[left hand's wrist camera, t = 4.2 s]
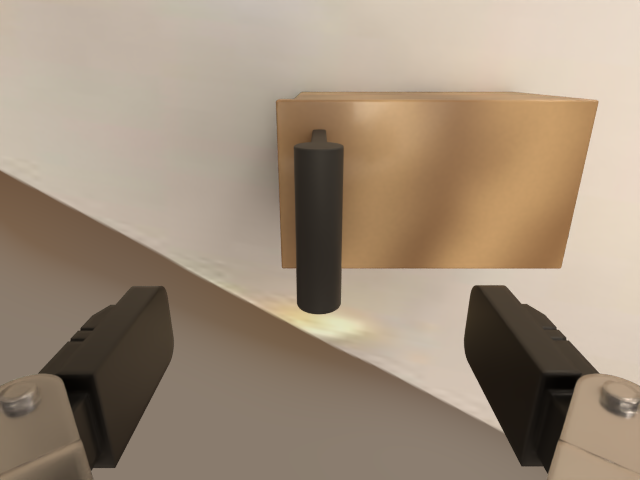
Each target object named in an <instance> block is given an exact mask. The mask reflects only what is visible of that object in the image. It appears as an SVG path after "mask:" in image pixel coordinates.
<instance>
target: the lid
mask: <svg viewBox="0 0 640 480" xmlns="http://www.w3.org/2000/svg"><path fill="white" fill-rule="evenodd" d="M597 106H598V100H591V99H278V100H277V101H276V116H277V144H278V172H279V200H280V228H281V256H282V268H296V276H297V305H298V307H299V308H300V309H301V310H303V311H305V312H307V313H311V314H326V313H330V312H333V311H335V310H337V309H338V308H339V306H340V304H341V268H561V266H562V262H563V257H564V253H565V248H566V244H567V239H568V235H569V230H570V226H571V222H572V217H573V213H574V208H575V204H576V199H577V195H578V190H579V186H580V182H581V177H582V173H583V168H584V164H585V159H586V155H587V151H588V146H589V142H590V137H591V133H592V128H593V124H594V119H595V115H596V111H597Z"/></svg>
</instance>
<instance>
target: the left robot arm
mask: <svg viewBox="0 0 640 480" xmlns="http://www.w3.org/2000/svg"><path fill="white" fill-rule="evenodd" d="M173 347H174V338H173V331H172V324H171V317H170V310H169V303H168V297H167V292H166V290H165V288H164V287H163V286H133V287H131V288H130V289H129V290H128V291H127V293H126V294H125V295H124V296H123V297H122V298H121V299H120V300H119V302H118V303H117V304H116V305H110V306H108V307H106V308H105V309H103V310H101V311H100V312H98V313H96V314H94V315H93V316H92V317H91V318H90V319H89V320H88V321H87V322H86V323H85V324H84V325H83V326H82V327H81V330H80V331H77V333H76V334H75V335H74V336H73V337H72V338H71V341H70V342H67V343H66V344H65V345H64V346H63V347H62V349H61V350H60V351H59V352H58V353H57V354H56V355H55V356H54V357H53V358H52V359H51V360H50V361H49V362H48V363H47V364H46V366H45V367H44V368H43V369H42V370H41V371H40V372H39V373H38V374H33V375H28V376H24V377H20V378H17V379H15V380H12V381H9V382H7V383H5V384H3V385H1V386H0V480H93V476H92V473H91V470H92V469H93V468H115V467H116V465H117V463H118V461H119V459H120V457H121V456H122V454H123V452H124V450H125V448H126V446H127V444H128V442H129V440H130V438H131V436H132V434H133V432H134V431H135V429H136V427H137V425H138V423H139V421H140V419H141V417H142V415H143V413H144V411H145V409H146V407H147V406H148V404H149V402H150V400H151V398H152V396H153V394H154V392H155V390H156V388H157V386H158V384H159V382H160V380H161V379H162V377H163V375H164V373H165V371H166V369H167V367H168V365H169V363H170V361H171V358H172V354H173ZM464 348H465V354H466V358H467V361H468V363H469V365H470V367H471V369H472V371H473V373H474V375H475V377H476V378H477V380H478V382H479V384H480V386H481V388H482V390H483V392H484V394H485V396H486V398H487V400H488V402H489V404H490V406H491V408H492V410H493V412H494V414H495V415H496V417H497V419H498V421H499V423H500V425H501V427H502V429H503V431H504V433H505V435H506V437H507V439H508V441H509V443H510V445H511V447H512V448H513V451H514V452H515V454H516V456H517V458H518V460H519V462H520V464H521V466H544V468H545V470H546V471H547V473H548V476H547V480H640V386H639V385H637V384H635V383H633V382H631V381H628V380H625V379H623V378H620V377H616V376H612V375H607V374H599V372H598V371H597V370H596V369H595V368H594V367H593V366H592V365H591V364H590V363H589V362H588V361H587V360H586V359H585V357H584V356H583V355H582V354H581V353H580V352H579V351H578V350H577V349H576V348H575V347H574V346H573V345H572V343H571V342H570V341H567V340H566V337H565V336H564V335H563V334H562V333H561V332H560V331H559V330H557V329H556V326H555V325H554V324H553V323H552V322H551V321H550V320H549V319H548V318H547V317H546V316H545V315H544V314H543V313H541V312H539V311H537V310H536V309H534V308H532V307H531V306H529V305H527V304H521V303H520V302H519V301H518V299H517V298H516V297H515V296H514V295H513V294H512V293H511V291H510V290H509V289H508V288H507V287H506V286H503V285H476V286H474V287H473V288H472V290H471V294H470V301H469V308H468V314H467V321H466V328H465V335H464Z"/></svg>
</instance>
